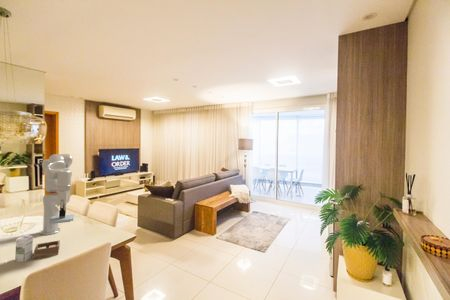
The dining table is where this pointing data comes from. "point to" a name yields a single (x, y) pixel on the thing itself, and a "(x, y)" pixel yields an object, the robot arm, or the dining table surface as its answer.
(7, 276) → the dining table surface
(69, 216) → the lid
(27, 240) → the syrup box
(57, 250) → the box
